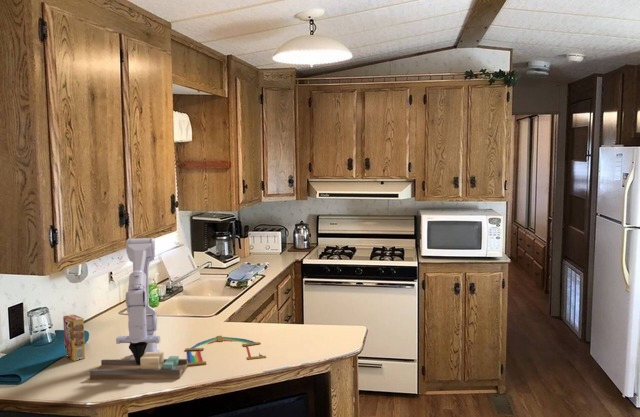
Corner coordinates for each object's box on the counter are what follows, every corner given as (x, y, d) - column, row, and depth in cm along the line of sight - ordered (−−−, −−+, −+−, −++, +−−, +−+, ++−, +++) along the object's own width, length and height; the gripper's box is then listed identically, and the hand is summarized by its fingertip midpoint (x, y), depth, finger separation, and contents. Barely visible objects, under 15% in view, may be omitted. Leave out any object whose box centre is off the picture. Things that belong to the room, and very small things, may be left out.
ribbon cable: (184, 341, 218) (186, 367, 189) (183, 338, 218) (185, 364, 189) (255, 334, 226) (267, 358, 197) (255, 332, 226) (267, 356, 197)
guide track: (102, 367, 189) (102, 355, 189) (187, 367, 189) (187, 354, 188) (90, 379, 179) (89, 366, 179) (179, 378, 179) (179, 365, 178)
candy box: (86, 358, 199) (84, 318, 198) (74, 361, 196) (72, 320, 195) (76, 352, 205) (73, 313, 204) (64, 355, 202) (62, 316, 201)
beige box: (146, 364, 187) (146, 352, 186) (164, 364, 187) (163, 351, 186) (140, 371, 181) (140, 358, 180) (158, 371, 181) (158, 358, 180)
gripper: (111, 328, 179) (113, 368, 180) (155, 328, 178) (156, 367, 180) (120, 322, 186) (121, 360, 187) (161, 321, 185) (163, 360, 187)
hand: (139, 363), depth 184 cm, fingers closed
